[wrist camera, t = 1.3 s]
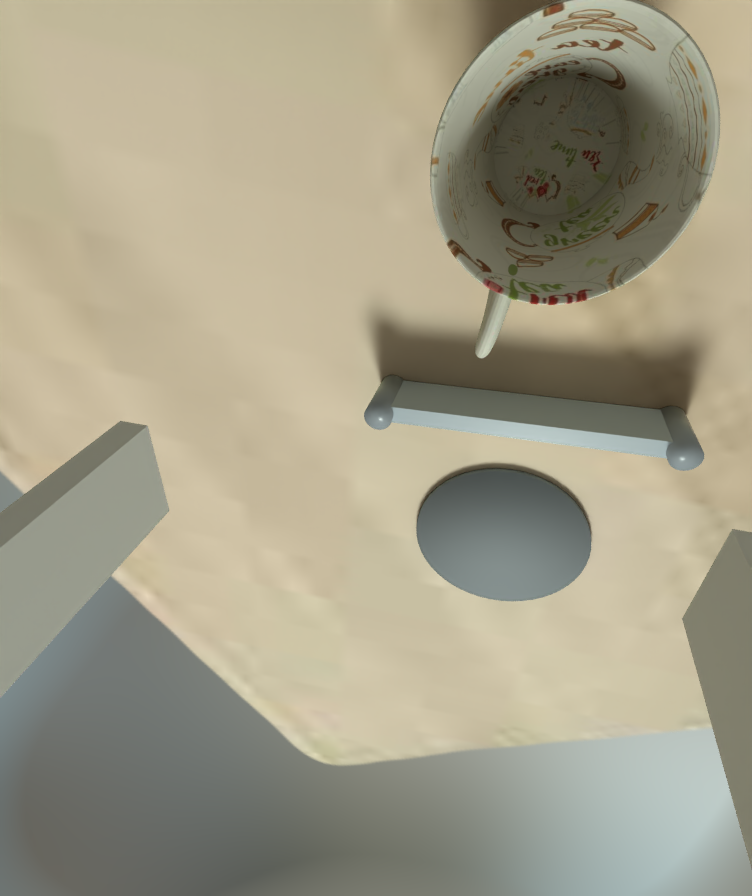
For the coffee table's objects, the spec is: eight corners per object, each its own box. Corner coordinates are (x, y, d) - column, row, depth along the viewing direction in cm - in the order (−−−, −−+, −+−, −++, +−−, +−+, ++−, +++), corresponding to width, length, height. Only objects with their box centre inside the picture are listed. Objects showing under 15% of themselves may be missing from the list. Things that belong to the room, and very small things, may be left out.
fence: (381, 373, 32) (364, 403, 29) (689, 408, 29) (708, 446, 25) (381, 396, 33) (364, 427, 30) (680, 432, 30) (697, 472, 26)
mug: (695, 60, 21) (792, 32, 13) (569, 341, 28) (581, 433, 20) (497, 14, 22) (473, -39, 14) (424, 298, 29) (380, 372, 21)
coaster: (421, 456, 35) (420, 459, 35) (610, 483, 32) (610, 487, 32) (414, 580, 42) (413, 583, 41) (571, 610, 39) (571, 615, 39)
